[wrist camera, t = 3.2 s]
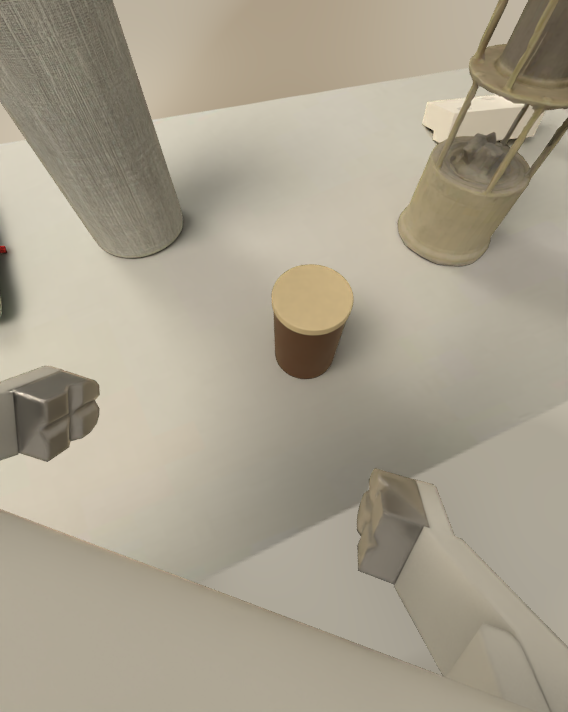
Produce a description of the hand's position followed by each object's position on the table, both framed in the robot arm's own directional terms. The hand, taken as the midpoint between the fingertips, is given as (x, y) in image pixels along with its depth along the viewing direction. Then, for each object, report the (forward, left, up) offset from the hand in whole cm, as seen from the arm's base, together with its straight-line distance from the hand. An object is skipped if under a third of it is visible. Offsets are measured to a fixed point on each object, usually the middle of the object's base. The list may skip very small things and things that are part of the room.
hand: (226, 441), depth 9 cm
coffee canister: (+10, -6, -17) cm, 21 cm away
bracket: (+39, -39, -17) cm, 58 cm away
